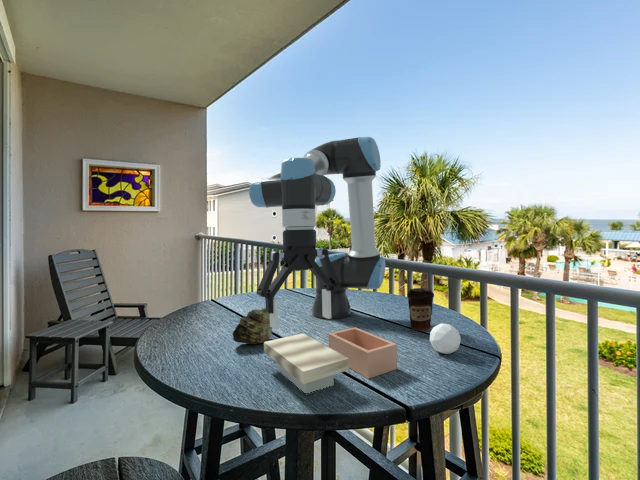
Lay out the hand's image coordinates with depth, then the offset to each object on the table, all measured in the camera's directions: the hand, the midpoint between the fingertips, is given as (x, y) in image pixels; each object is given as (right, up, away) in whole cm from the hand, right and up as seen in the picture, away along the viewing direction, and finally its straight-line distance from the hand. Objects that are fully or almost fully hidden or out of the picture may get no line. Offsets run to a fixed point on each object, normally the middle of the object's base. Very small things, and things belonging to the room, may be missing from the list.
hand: (301, 322), depth 76 cm
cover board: (0, -9, +1) cm, 9 cm away
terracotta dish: (+15, -12, +8) cm, 21 cm away
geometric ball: (+38, -11, +13) cm, 41 cm away
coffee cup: (+37, -10, +33) cm, 51 cm away
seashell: (-16, -12, +25) cm, 32 cm away
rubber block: (0, -13, +1) cm, 13 cm away
